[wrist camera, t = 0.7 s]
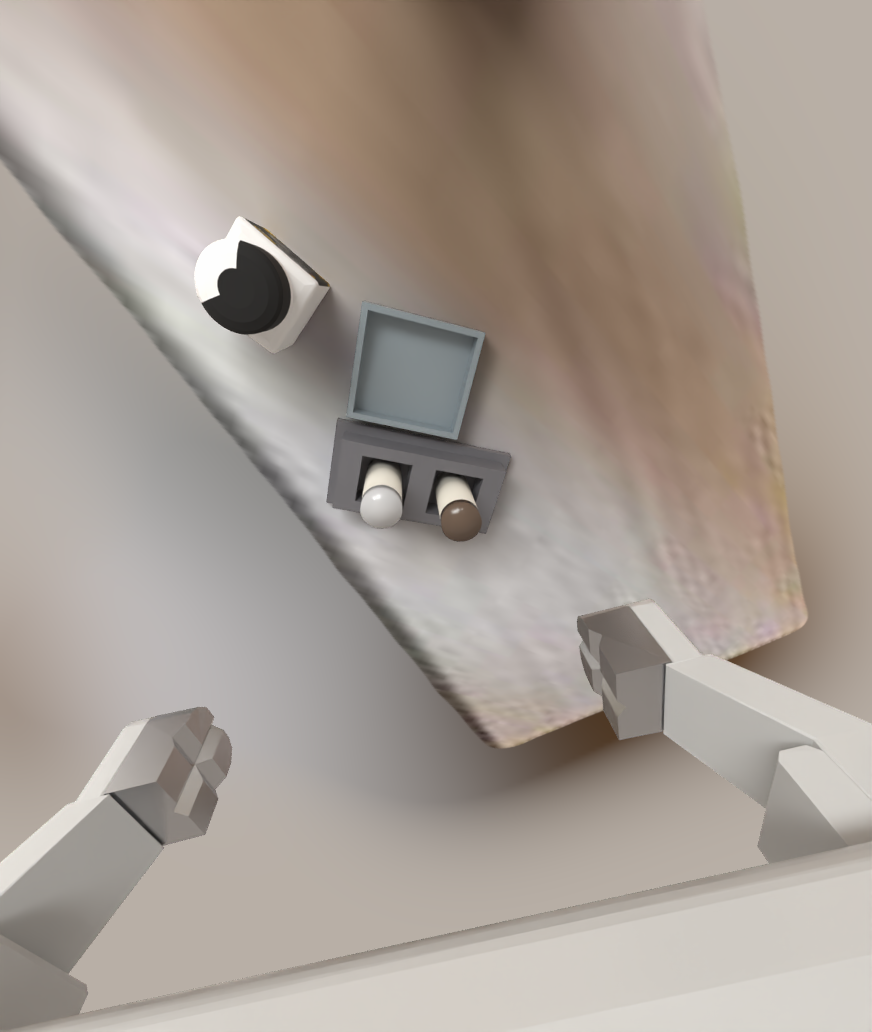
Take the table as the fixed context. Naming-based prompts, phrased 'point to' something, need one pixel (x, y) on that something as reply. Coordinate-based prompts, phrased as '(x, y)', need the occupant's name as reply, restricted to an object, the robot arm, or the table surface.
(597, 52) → the table surface
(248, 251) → the medicine bottle
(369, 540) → the table surface
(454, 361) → the parts tray
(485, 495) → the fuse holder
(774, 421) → the table surface
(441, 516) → the cylinder
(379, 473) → the dome-capped cream cylinder
